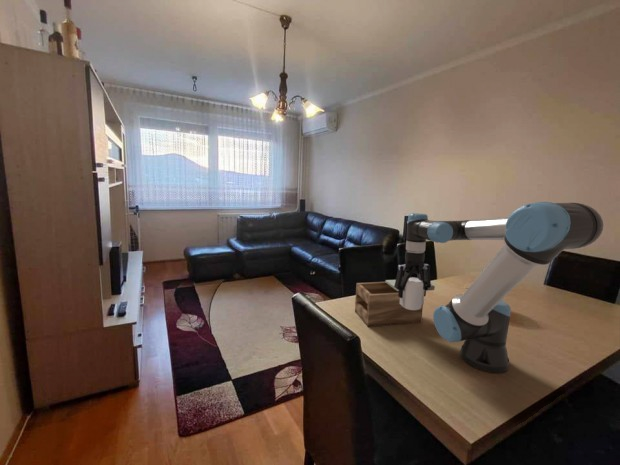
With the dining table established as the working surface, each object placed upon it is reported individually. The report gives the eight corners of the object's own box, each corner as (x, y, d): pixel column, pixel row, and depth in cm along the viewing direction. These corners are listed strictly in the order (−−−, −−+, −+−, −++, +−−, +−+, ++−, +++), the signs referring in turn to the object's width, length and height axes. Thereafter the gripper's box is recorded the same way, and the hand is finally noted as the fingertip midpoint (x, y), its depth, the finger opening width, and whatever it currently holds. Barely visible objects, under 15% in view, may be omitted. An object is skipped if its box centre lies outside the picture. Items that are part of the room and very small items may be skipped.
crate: (421, 322, 133) (424, 288, 131) (367, 326, 128) (369, 291, 125) (403, 308, 149) (405, 276, 146) (354, 311, 143) (356, 279, 141)
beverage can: (424, 311, 119) (426, 283, 117) (404, 310, 119) (406, 282, 117) (417, 303, 127) (419, 277, 125) (398, 303, 127) (400, 276, 125)
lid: (434, 290, 134) (434, 285, 134) (397, 292, 130) (397, 287, 130) (419, 281, 146) (419, 277, 145) (385, 283, 142) (385, 279, 142)
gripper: (432, 248, 125) (428, 299, 129) (387, 250, 121) (384, 302, 124) (443, 252, 118) (439, 306, 121) (396, 253, 114) (392, 309, 117)
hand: (411, 304), depth 123 cm, fingers closed on beverage can, 8 cm apart
